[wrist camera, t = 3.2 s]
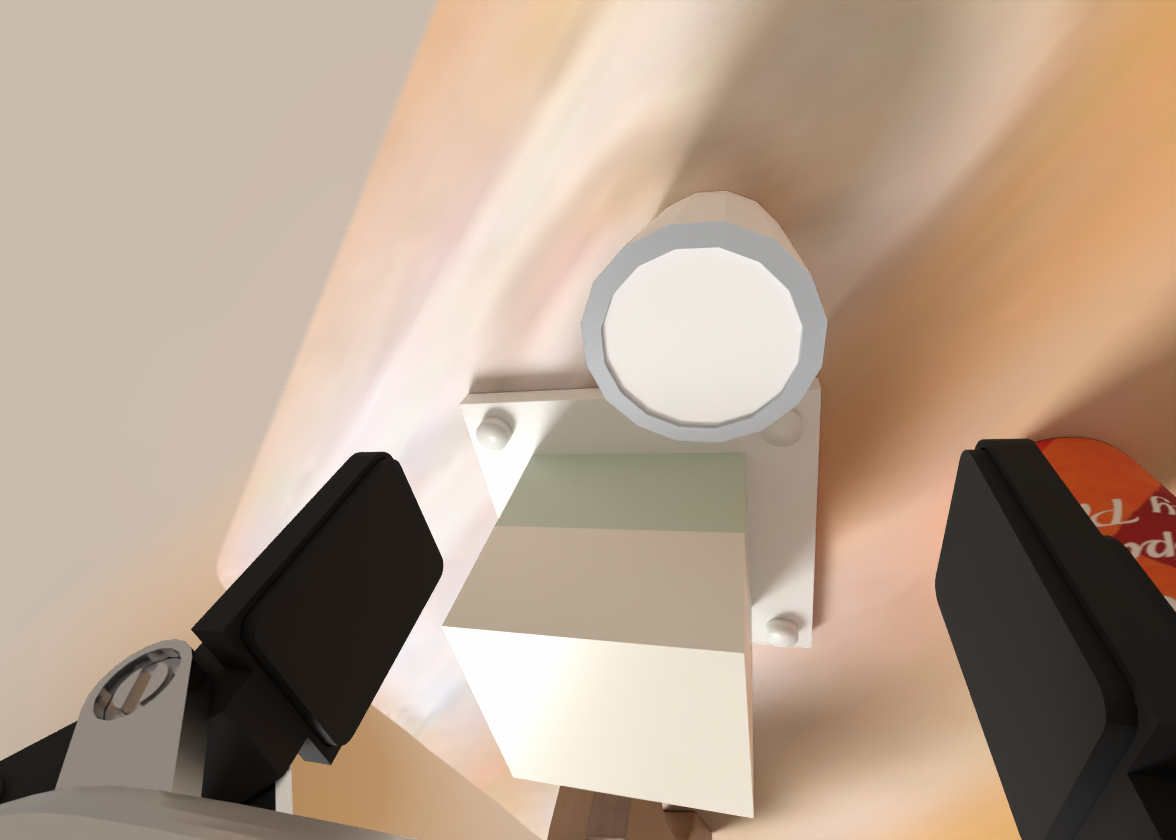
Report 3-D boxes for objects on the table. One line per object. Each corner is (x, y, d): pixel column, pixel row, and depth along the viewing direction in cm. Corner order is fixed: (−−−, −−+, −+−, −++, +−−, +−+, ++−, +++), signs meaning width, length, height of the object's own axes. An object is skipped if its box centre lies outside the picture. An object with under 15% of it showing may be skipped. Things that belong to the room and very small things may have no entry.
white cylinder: (815, 332, 22) (839, 431, 16) (646, 361, 24) (615, 456, 19) (793, 145, 19) (814, 188, 13) (601, 201, 21) (547, 257, 15)
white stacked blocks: (818, 377, 23) (864, 588, 14) (809, 632, 31) (835, 868, 22) (467, 393, 27) (334, 559, 19) (540, 611, 36) (471, 800, 27)
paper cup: (1145, 380, 20) (1665, 812, 9) (1192, 527, 23) (1642, 1008, 11) (913, 459, 24) (1065, 831, 12) (976, 576, 26) (1150, 975, 15)
